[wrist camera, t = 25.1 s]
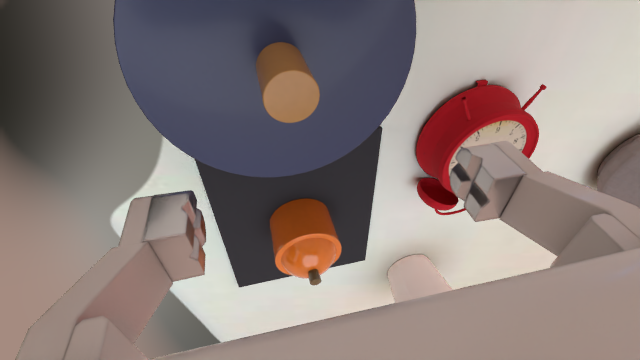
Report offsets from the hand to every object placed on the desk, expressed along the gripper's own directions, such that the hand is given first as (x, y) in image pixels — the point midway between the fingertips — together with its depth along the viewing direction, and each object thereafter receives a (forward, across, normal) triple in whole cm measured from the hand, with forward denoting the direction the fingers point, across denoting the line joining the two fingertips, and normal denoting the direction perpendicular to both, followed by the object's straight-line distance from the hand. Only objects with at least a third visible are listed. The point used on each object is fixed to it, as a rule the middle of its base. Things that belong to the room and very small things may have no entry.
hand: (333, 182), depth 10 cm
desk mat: (+15, 0, +20) cm, 25 cm away
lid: (+10, 0, 0) cm, 10 cm away
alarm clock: (+16, -18, +13) cm, 27 cm away
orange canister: (+15, -1, +19) cm, 25 cm away
